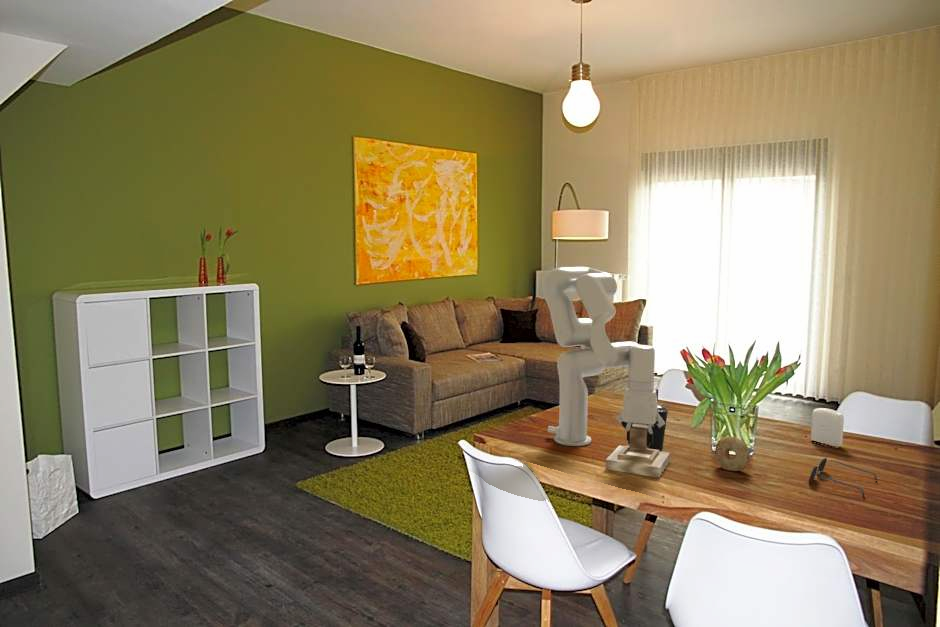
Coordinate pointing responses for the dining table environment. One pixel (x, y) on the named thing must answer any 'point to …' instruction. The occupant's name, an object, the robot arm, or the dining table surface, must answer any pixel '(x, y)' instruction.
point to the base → (638, 461)
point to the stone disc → (729, 462)
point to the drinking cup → (659, 433)
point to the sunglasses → (820, 468)
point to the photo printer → (827, 426)
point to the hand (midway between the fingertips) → (639, 443)
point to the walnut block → (638, 436)
